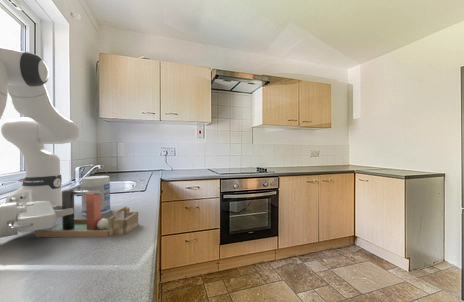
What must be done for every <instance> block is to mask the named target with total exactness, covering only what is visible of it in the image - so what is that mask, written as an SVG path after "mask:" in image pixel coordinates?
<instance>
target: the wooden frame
mask: <svg viewBox="0 0 464 302" xmlns="http://www.w3.org/2000/svg"><path fill="white" fill-rule="evenodd" d="M121 213H123V218H124V219H115V218H116V216H118V215H119V214H121ZM108 218H109V236H108V237H113V236H114V235H115V236H117V235H120V236H121V235H122V236H123V235H127V234H128V233H130V232H131V231H132V230H134V229H135V228H136V227H137V226H138V225H139V211H130V207H127V206H126V205H124V206H122V207H120V208H118V209H117V210H114V211H113V212H112V215H111V216H110V217H108Z"/></svg>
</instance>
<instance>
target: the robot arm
mask: <svg viewBox="0 0 464 302" xmlns="http://www.w3.org/2000/svg"><path fill="white" fill-rule="evenodd" d="M49 74H50V73H49V67H48V65H47V63H46V61H45V60H44V59H43V58H42V57H41V56H40V55H38V54H35V53H33V52H29V51H20V50H16V49H11V48H7V47H1V46H0V120H1V119H2V116H3V114H4V112H5V109H6V106H7V103H8V102H7V101H8V97H9V98H10V101H11V102H12V106H13V108H14V109H15V111H16V112H17V113H19V114H20V115H22V116H23V117H18V118H8V119H6V120H5V121H4V122H3V123H2V125H1V126H0V127H1V128H0V132H1V135H2V137H3V138H4V139H5V140H6V141H8V142H9V143H11V144H12V145H14V146H15V147H16V148H17V149H18V150H19V151H20V152H21V154H22V156H23V158H24V163H25V173H26V174H25V177H24V178H20V179H19V182H21V183H22V184H21V186H20V187H18V188H17V190H14V191H13V192H12V193H10V194H9V195H7V197H6V198H5V203H4V202H3V203H0V239H1V238H3V239H4V238H7V237H11V236H12V237H13V236H17V235H18V233H27V232H33V231H34V232H35V231H37V230H47V229H50V228H51V229H52V228H55V227H57V226H56V225H57V219H59V218H62V217H63V216H66V215H70V214H73V213H74V214H75V208H74V209H73V208H72V207H70V208H66V209H62V191H63V190H62V180H63V178H62V174H61V159H60V157H59V156H58V155H57V154H55V153H54V152H51V151H47V149H45V147H44V145H63V144H71V143H74V142H76V141H77V139H78V138H79V136H80V128H79V127H78V125H77V123H75V122H74V121H72V120H70V119H69V118H66V117H65V116H63V115H62V114H61V113H59V111H58V110H57V109H56V108H55V107H54V105H53V103H52V101H51V99H50V95H49V93H48V90H47V86H46V85H45V84H46V83H47V82H48V81H49Z"/></svg>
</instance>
